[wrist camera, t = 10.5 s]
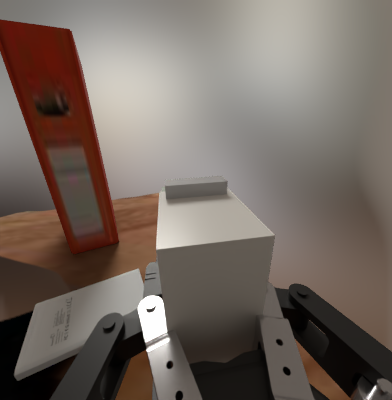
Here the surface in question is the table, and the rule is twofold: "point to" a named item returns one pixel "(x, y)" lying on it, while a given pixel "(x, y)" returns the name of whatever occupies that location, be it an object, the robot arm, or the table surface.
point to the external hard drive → (74, 320)
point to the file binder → (61, 129)
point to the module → (211, 267)
